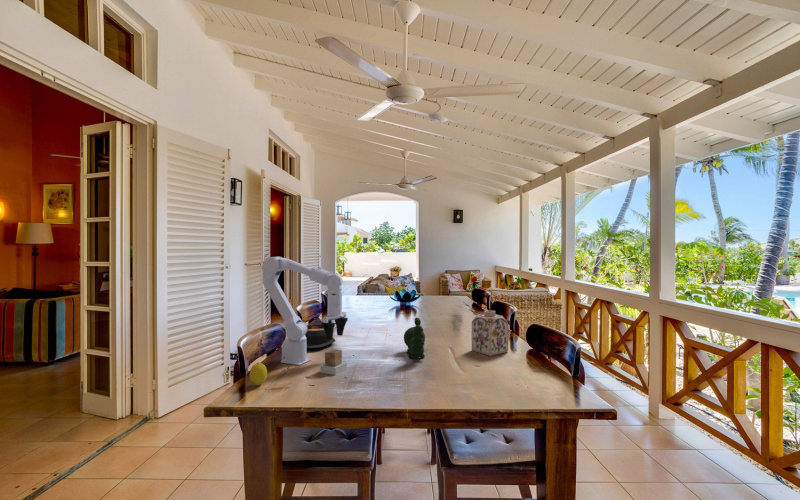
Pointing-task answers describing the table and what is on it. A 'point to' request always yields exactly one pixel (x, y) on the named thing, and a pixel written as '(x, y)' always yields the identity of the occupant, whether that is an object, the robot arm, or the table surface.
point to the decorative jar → (490, 334)
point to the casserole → (317, 336)
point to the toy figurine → (415, 340)
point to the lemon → (258, 373)
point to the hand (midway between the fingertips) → (334, 337)
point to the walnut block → (333, 357)
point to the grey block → (333, 369)
